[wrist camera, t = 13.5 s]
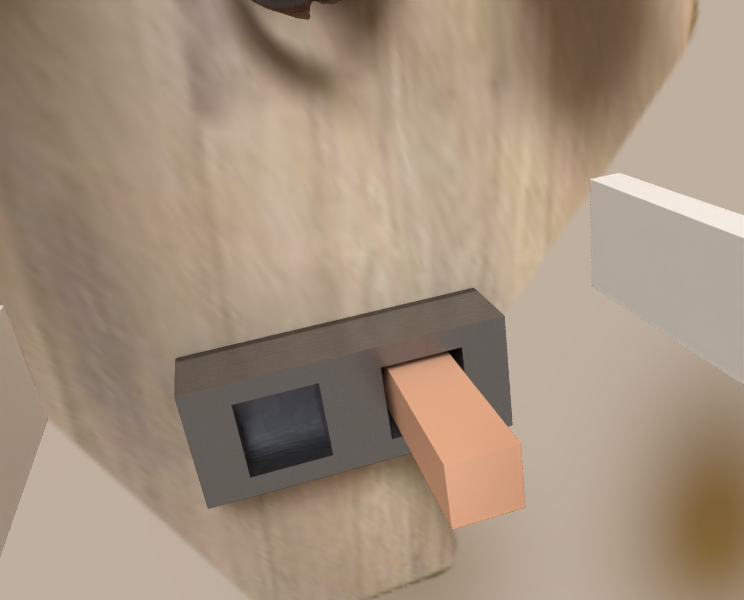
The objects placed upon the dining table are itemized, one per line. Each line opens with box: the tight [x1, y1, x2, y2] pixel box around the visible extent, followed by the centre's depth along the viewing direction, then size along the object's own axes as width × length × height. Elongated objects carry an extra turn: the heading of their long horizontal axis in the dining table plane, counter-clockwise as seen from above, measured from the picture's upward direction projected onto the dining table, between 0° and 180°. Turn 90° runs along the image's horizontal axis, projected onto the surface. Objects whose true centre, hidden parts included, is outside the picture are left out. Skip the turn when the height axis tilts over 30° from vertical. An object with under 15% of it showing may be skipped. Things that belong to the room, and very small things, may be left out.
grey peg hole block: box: [174, 288, 512, 509], centre depth 45 cm, size 20×8×5 cm, turn 98°
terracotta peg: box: [381, 351, 525, 529], centre depth 41 cm, size 4×4×14 cm
